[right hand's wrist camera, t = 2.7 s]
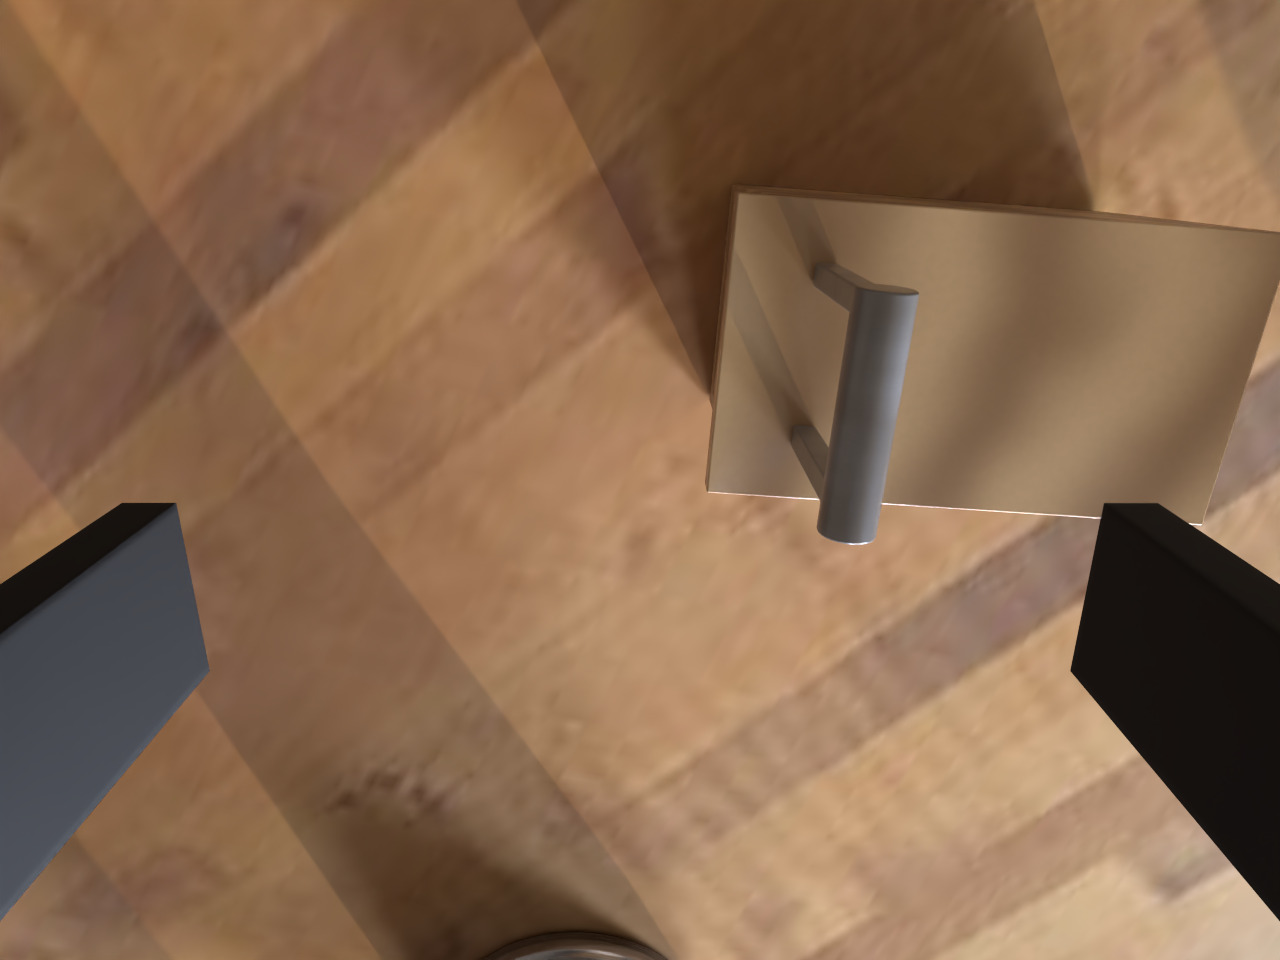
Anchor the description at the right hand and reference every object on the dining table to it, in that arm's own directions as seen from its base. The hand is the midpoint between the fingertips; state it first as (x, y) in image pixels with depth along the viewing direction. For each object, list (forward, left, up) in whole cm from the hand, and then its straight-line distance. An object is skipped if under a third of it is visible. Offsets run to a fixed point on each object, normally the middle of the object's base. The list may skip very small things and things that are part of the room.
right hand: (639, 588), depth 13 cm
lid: (-4, -10, -15) cm, 19 cm away
